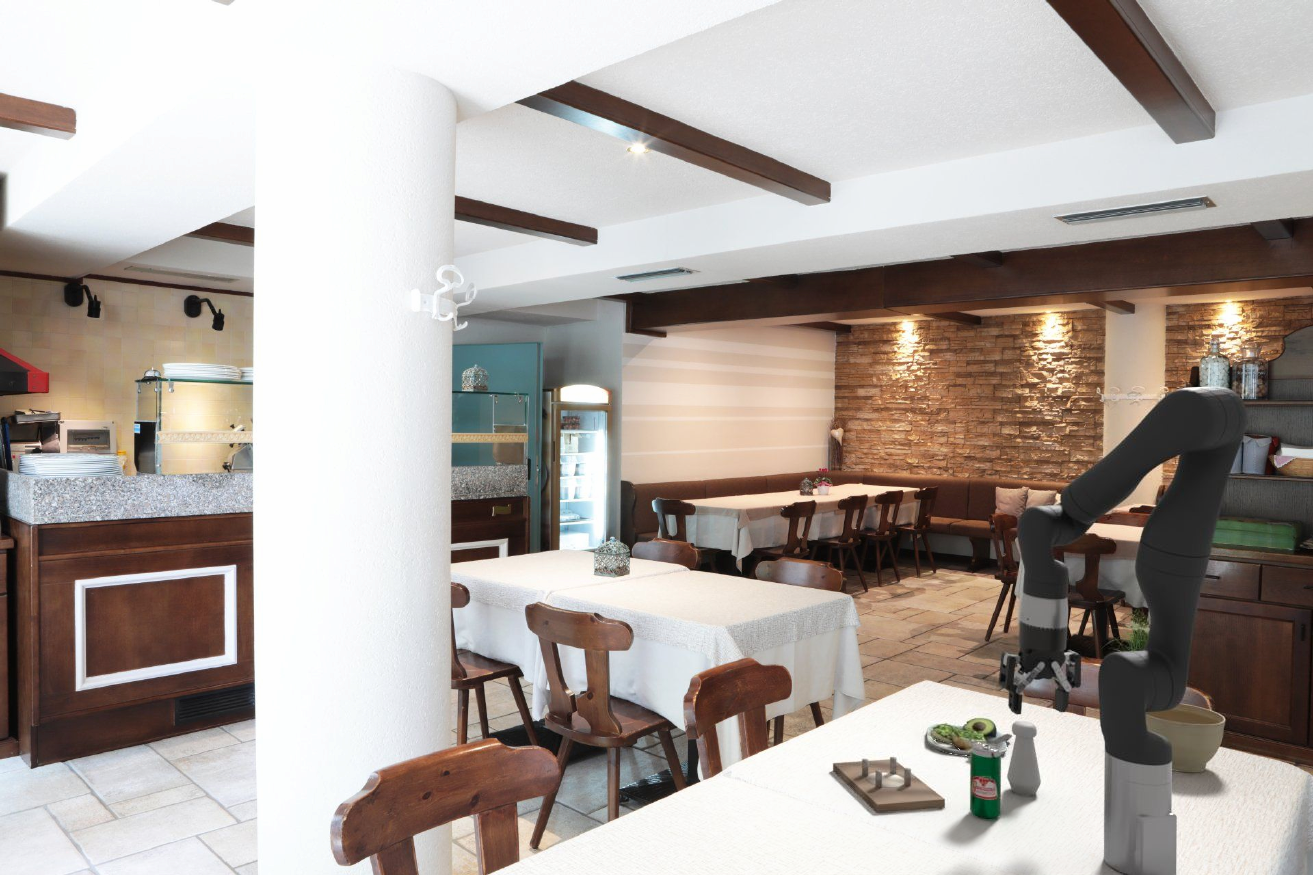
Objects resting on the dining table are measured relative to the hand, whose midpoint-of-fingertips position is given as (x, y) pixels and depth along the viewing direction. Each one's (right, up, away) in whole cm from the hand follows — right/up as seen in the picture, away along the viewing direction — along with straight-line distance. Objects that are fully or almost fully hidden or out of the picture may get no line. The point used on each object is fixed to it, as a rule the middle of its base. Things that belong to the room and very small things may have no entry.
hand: (1038, 711), depth 151 cm
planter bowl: (+41, -20, +27) cm, 53 cm away
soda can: (-8, -19, +2) cm, 21 cm away
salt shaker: (+3, -19, +13) cm, 23 cm away
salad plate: (+2, -20, +39) cm, 44 cm away
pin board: (-23, -19, +14) cm, 33 cm away
